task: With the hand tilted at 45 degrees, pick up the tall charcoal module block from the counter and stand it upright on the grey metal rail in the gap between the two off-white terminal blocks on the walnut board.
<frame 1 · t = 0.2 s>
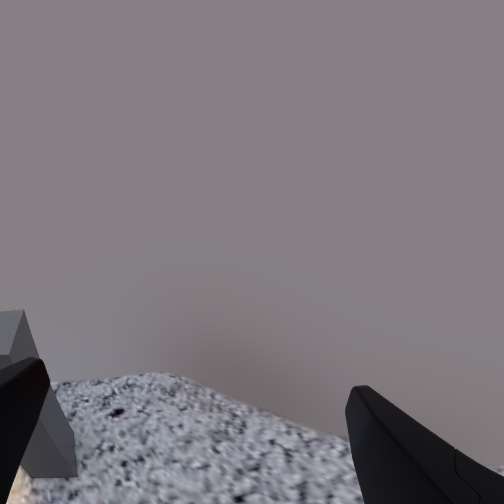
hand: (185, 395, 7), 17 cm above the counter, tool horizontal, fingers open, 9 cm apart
module: (52, 454, 17), on the counter
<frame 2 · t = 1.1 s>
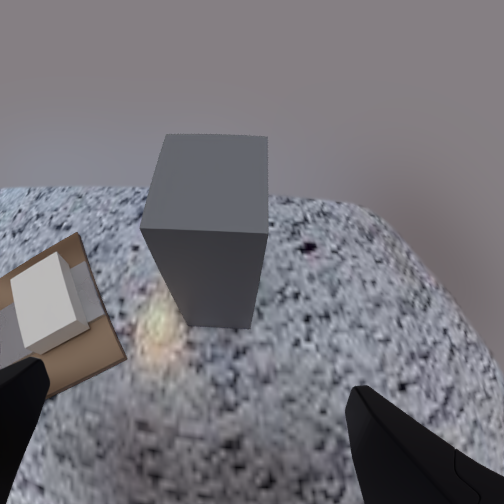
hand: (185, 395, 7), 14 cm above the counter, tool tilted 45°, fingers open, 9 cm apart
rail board: (11, 340, 20), on the counter
rail: (4, 337, 19), on the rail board, point 1 cm above the counter
module: (220, 295, 23), on the counter
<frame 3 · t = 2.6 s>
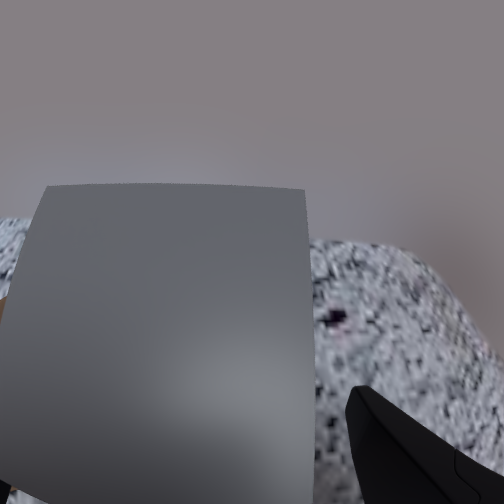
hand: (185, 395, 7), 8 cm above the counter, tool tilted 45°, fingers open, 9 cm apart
module: (209, 393, 15), on the counter
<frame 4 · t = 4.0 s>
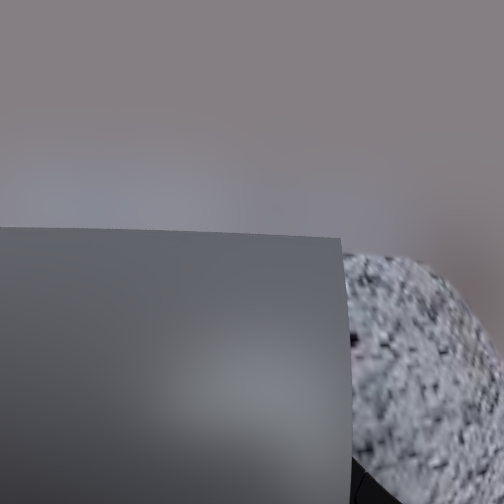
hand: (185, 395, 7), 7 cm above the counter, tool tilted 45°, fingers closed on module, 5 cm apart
module: (205, 428, 13), on the counter, touching gripper
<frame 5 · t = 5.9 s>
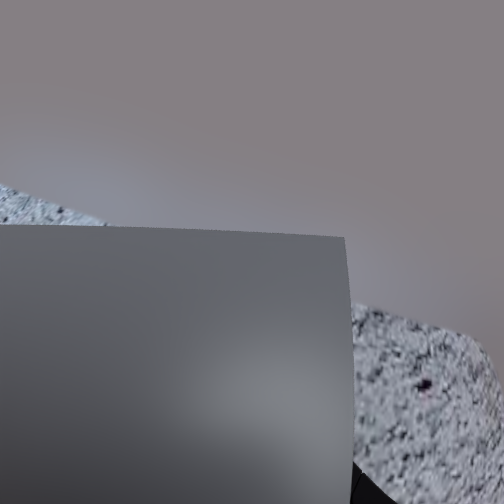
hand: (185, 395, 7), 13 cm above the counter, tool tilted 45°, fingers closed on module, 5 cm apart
module: (210, 428, 13), point 7 cm above the counter, touching gripper
when the fingers open (9 cm above the counter, at t = 8.1 s): module drops 1 cm, resting on rail.
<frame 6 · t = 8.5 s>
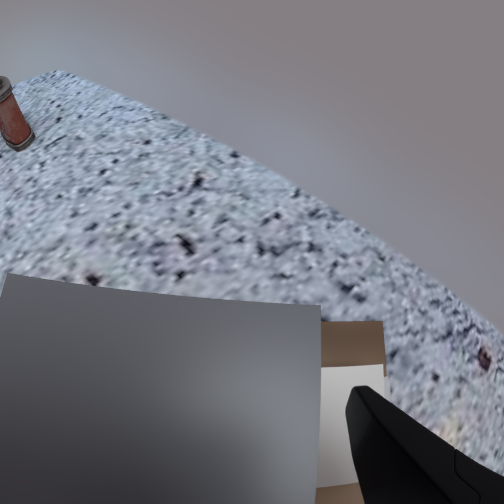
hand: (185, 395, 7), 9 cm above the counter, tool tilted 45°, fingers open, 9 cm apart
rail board: (209, 423, 15), on the counter
lighter: (18, 136, 26), on the counter
module: (207, 425, 14), point 1 cm above the counter, touching rail
terminal blocks: (206, 426, 13), on the rail, point 2 cm above the counter
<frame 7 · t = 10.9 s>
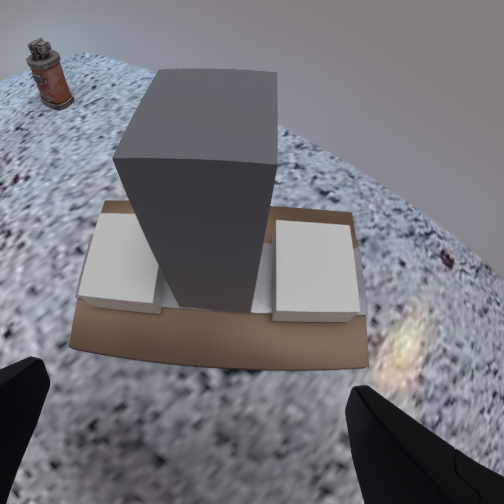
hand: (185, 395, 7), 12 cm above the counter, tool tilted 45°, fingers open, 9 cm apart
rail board: (219, 281, 21), on the counter
rail: (218, 275, 21), on the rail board, point 1 cm above the counter
lighter: (57, 100, 32), on the counter
module: (218, 274, 20), point 1 cm above the counter, touching rail
terminal blocks: (218, 267, 19), on the rail, point 2 cm above the counter
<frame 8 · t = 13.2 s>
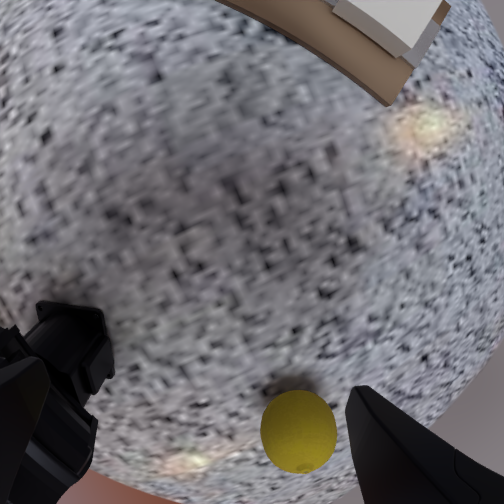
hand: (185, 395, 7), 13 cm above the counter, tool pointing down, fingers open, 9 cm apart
lemon: (291, 393, 24), on the counter
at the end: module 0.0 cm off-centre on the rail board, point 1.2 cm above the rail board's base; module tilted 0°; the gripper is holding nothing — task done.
